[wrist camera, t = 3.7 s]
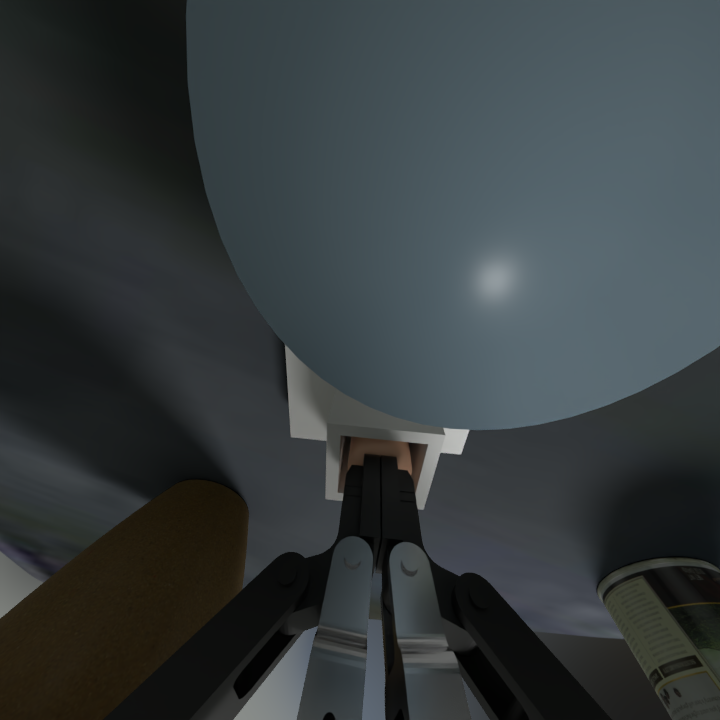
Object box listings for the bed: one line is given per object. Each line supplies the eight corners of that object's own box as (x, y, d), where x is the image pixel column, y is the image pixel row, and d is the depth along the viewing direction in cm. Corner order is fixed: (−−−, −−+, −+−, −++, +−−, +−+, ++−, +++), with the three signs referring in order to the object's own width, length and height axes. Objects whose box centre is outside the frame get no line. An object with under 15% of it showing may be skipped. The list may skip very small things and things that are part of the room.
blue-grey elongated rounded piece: (487, 141, 10) (1791, -882, 1) (454, 285, 12) (669, 450, 3) (347, 131, 10) (23, -860, 1) (341, 275, 12) (240, 407, 3)
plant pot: (220, 563, 29) (68, 886, 15) (98, 485, 24) (-309, 861, 10) (324, 524, 24) (248, 938, 10) (200, 417, 19) (-290, 941, 5)
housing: (550, 118, 11) (721, 10, 5) (452, 432, 18) (483, 516, 13) (285, 98, 11) (197, -23, 6) (299, 417, 19) (267, 492, 13)
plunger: (408, 401, 15) (417, 449, 11) (401, 441, 16) (406, 493, 13) (355, 396, 15) (349, 442, 12) (352, 436, 16) (346, 487, 13)
